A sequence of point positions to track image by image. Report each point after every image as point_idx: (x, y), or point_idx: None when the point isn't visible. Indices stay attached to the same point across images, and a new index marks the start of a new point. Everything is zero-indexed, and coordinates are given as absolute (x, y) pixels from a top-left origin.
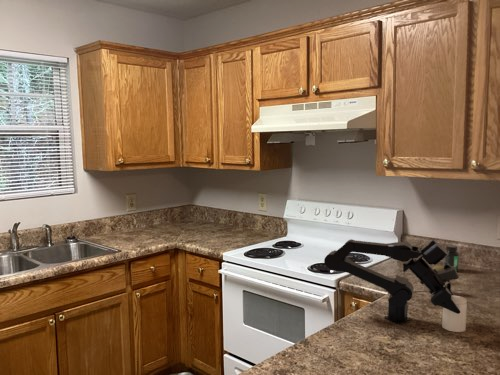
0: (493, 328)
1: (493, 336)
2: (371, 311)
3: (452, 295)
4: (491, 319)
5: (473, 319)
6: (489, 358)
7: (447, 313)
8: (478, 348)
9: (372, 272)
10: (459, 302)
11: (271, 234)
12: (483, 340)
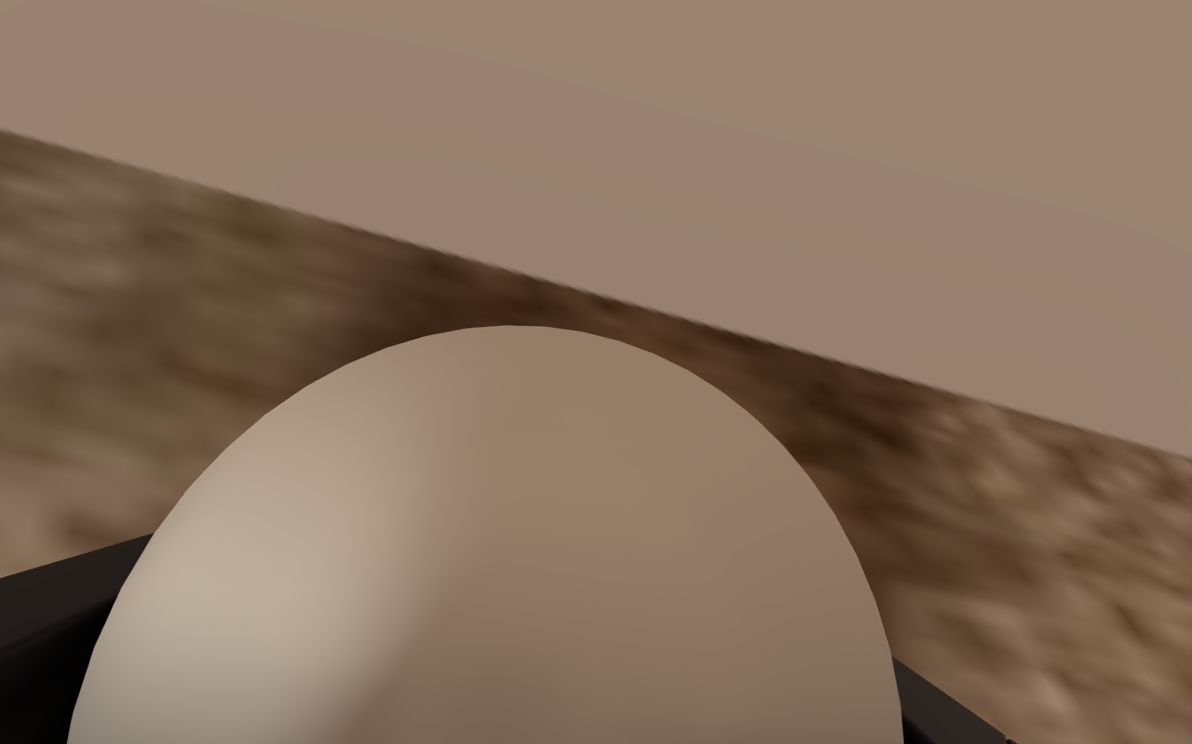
0: (443, 265)
1: (641, 319)
2: None
3: (118, 683)
4: (192, 212)
5: (182, 374)
6: (1116, 473)
7: None
8: (977, 514)
9: None
10: (852, 558)
11: None
12: (770, 424)
